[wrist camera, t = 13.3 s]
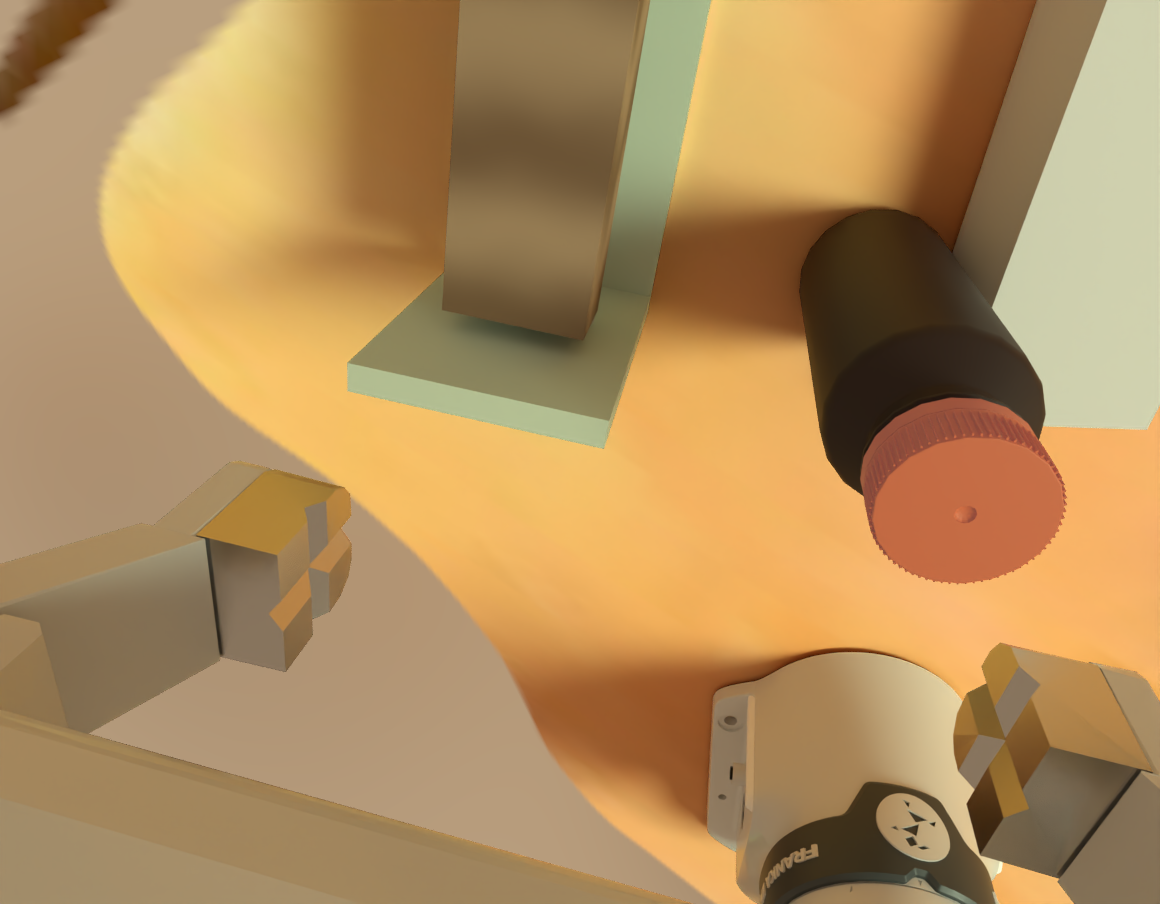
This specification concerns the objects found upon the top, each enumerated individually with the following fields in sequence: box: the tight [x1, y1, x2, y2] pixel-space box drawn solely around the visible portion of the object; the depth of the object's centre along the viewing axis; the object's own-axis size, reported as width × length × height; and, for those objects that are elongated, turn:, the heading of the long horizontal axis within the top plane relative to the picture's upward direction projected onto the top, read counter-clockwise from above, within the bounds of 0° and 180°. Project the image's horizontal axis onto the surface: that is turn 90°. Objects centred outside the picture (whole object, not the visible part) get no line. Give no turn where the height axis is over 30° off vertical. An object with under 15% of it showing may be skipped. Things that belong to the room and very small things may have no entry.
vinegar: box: [799, 210, 1067, 584], centre depth 30 cm, size 7×7×20 cm
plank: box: [442, 0, 650, 341], centre depth 30 cm, size 14×6×4 cm, turn 171°
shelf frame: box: [347, 0, 711, 449], centre depth 31 cm, size 19×10×14 cm, turn 171°
